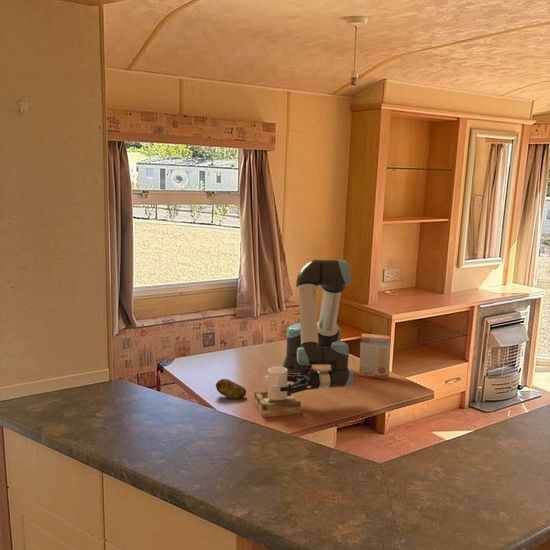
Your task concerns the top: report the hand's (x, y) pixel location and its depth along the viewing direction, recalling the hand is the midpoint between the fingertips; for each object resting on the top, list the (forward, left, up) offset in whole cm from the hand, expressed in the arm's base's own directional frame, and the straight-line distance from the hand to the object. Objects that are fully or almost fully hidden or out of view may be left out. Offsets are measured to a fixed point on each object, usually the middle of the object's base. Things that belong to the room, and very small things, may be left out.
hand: (268, 384), depth 236 cm
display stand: (0, +4, -11) cm, 12 cm away
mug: (0, +4, -7) cm, 8 cm away
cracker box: (-26, +61, -11) cm, 67 cm away
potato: (-16, -13, -11) cm, 23 cm away
